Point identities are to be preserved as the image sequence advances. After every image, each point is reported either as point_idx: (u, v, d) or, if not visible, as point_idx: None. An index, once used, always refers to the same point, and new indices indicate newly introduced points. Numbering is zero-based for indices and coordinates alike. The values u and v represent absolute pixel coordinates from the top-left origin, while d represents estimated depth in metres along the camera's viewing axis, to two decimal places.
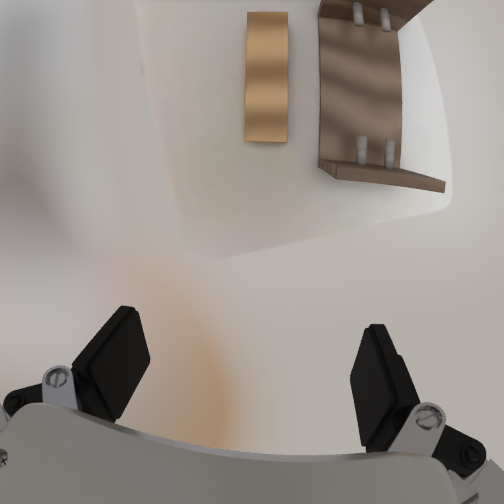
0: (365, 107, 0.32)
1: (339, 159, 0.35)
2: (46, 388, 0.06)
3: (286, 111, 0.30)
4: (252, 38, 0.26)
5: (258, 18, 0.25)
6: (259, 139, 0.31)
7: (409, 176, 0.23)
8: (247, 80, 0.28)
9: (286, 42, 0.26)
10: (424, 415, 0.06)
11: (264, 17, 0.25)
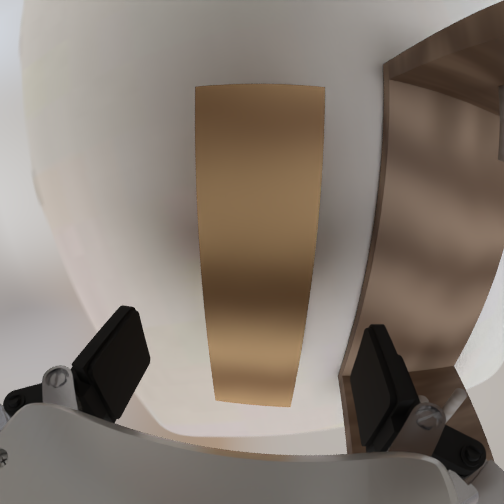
0: (439, 297, 0.17)
1: None
2: (46, 388, 0.06)
3: (294, 371, 0.15)
4: (211, 189, 0.11)
5: (229, 111, 0.10)
6: (241, 401, 0.16)
7: None
8: (208, 311, 0.14)
9: (314, 207, 0.11)
10: (424, 415, 0.06)
11: (249, 107, 0.10)
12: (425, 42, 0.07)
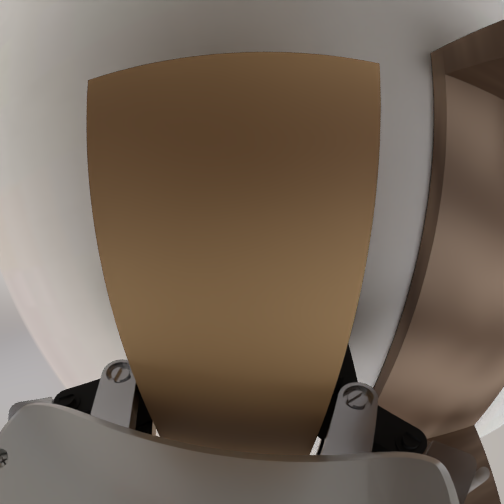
0: (474, 367, 0.11)
1: None
2: (109, 384, 0.07)
3: None
4: (132, 294, 0.05)
5: (150, 126, 0.04)
6: None
7: None
8: None
9: (340, 334, 0.05)
10: (353, 396, 0.07)
11: (193, 112, 0.04)
12: None
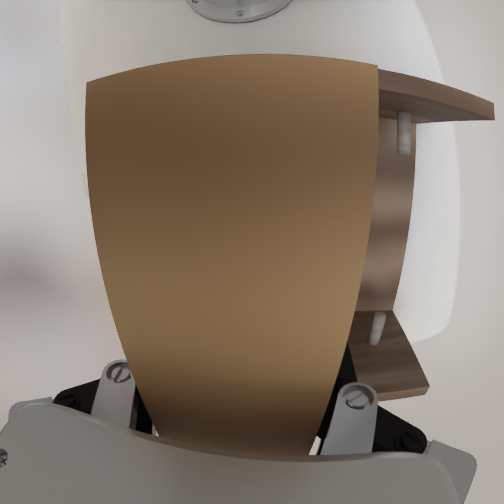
0: None
1: None
2: (109, 384, 0.07)
3: None
4: (131, 295, 0.05)
5: (148, 128, 0.04)
6: None
7: (386, 393, 0.19)
8: None
9: (339, 336, 0.05)
10: (353, 396, 0.07)
11: (191, 115, 0.04)
12: None
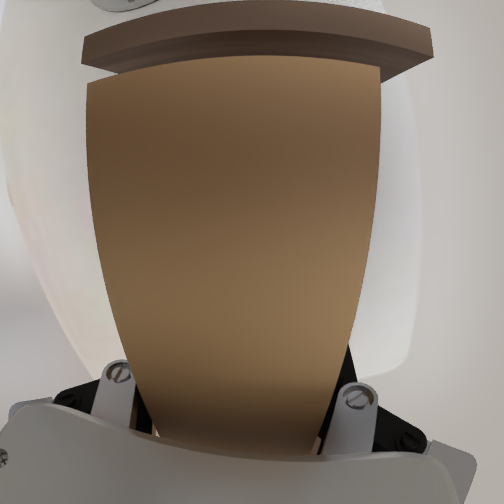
0: None
1: None
2: (109, 384, 0.07)
3: None
4: (132, 297, 0.05)
5: (150, 130, 0.04)
6: None
7: None
8: None
9: (340, 338, 0.05)
10: (353, 396, 0.07)
11: (192, 116, 0.04)
12: None
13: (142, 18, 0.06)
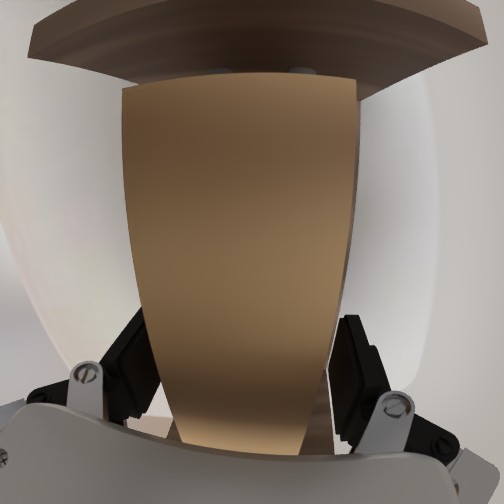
0: None
1: None
2: (75, 384, 0.06)
3: None
4: (156, 266, 0.06)
5: (177, 128, 0.05)
6: None
7: None
8: (175, 412, 0.09)
9: (330, 298, 0.06)
10: (391, 404, 0.06)
11: (212, 119, 0.05)
12: None
13: None
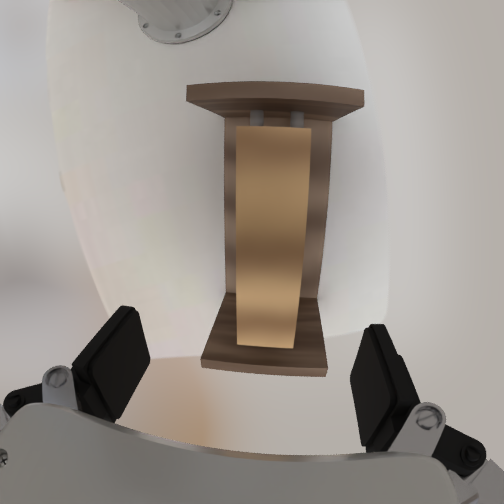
0: None
1: None
2: (46, 388, 0.06)
3: (295, 313, 0.22)
4: (245, 187, 0.19)
5: (256, 142, 0.18)
6: (256, 344, 0.24)
7: (279, 367, 0.24)
8: (238, 266, 0.21)
9: (305, 198, 0.19)
10: (424, 415, 0.06)
11: (267, 140, 0.18)
12: None
13: (222, 83, 0.16)
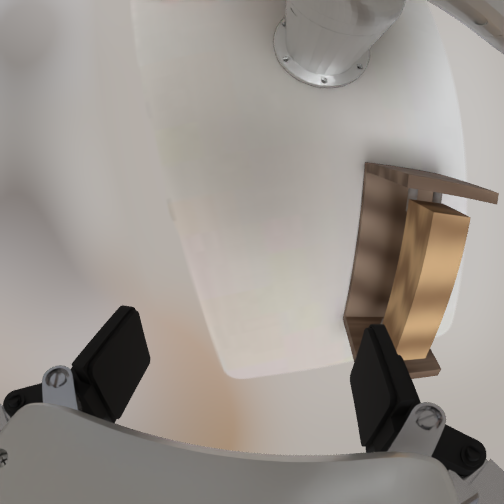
0: (393, 271, 0.37)
1: (362, 316, 0.41)
2: (46, 388, 0.06)
3: (434, 334, 0.26)
4: (430, 255, 0.23)
5: (442, 225, 0.22)
6: (404, 359, 0.28)
7: (413, 373, 0.28)
8: (412, 307, 0.25)
9: (459, 262, 0.23)
10: (424, 415, 0.06)
11: (448, 224, 0.22)
12: (379, 167, 0.28)
13: (432, 179, 0.20)
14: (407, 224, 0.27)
